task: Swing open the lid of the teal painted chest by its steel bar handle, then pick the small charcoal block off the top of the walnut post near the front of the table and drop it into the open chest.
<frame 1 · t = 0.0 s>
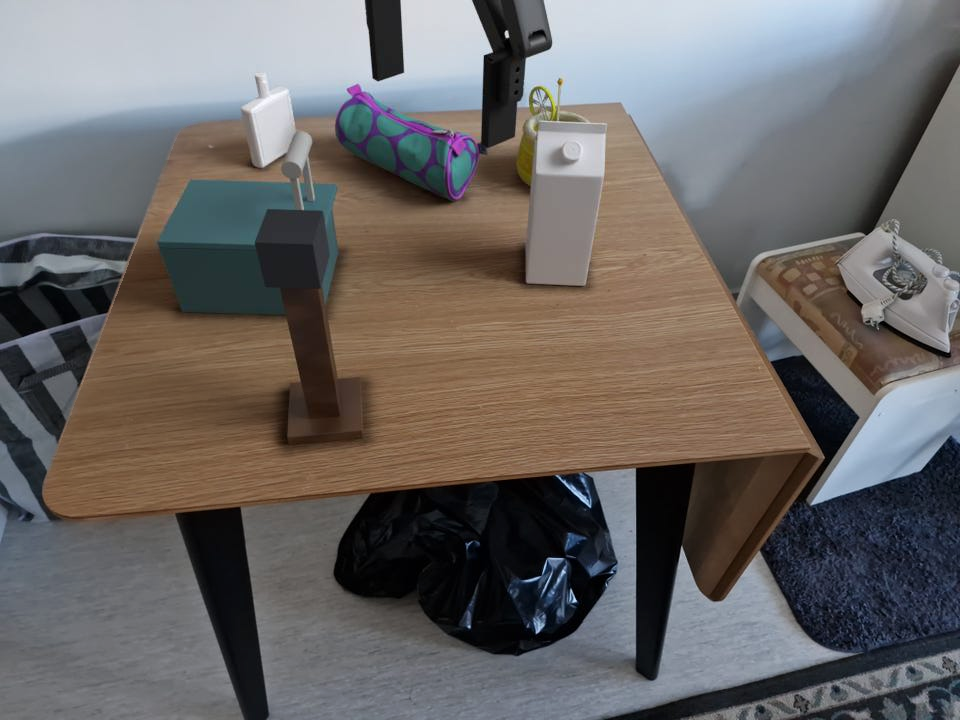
hand: (439, 106, 57), 28 cm above the table, tool pointing down, fingers open, 13 cm apart
chest: (264, 280, 85), on the table
milk carton: (554, 268, 89), on the table
perfume bottle: (276, 156, 105), on the table
block: (298, 270, 58), point 18 cm above the table, touching post stand
pencil case: (409, 174, 102), on the table
lid: (244, 182, 76), point 13 cm above the table, hinge at 0.0°
yellow pot: (553, 175, 103), on the table
post stand: (326, 413, 71), on the table
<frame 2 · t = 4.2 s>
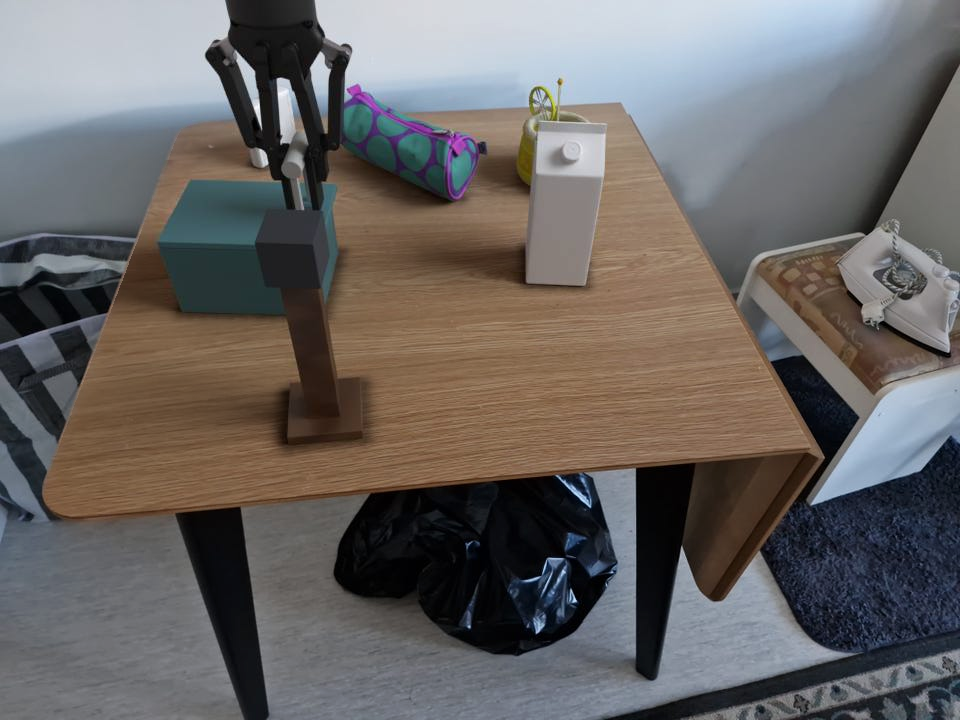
hand: (305, 204, 78), 11 cm above the table, tool pointing down, fingers closed on lid, 2 cm apart
lid: (244, 182, 76), point 13 cm above the table, hinge at 0.0°, touching gripper
everything else where it was.
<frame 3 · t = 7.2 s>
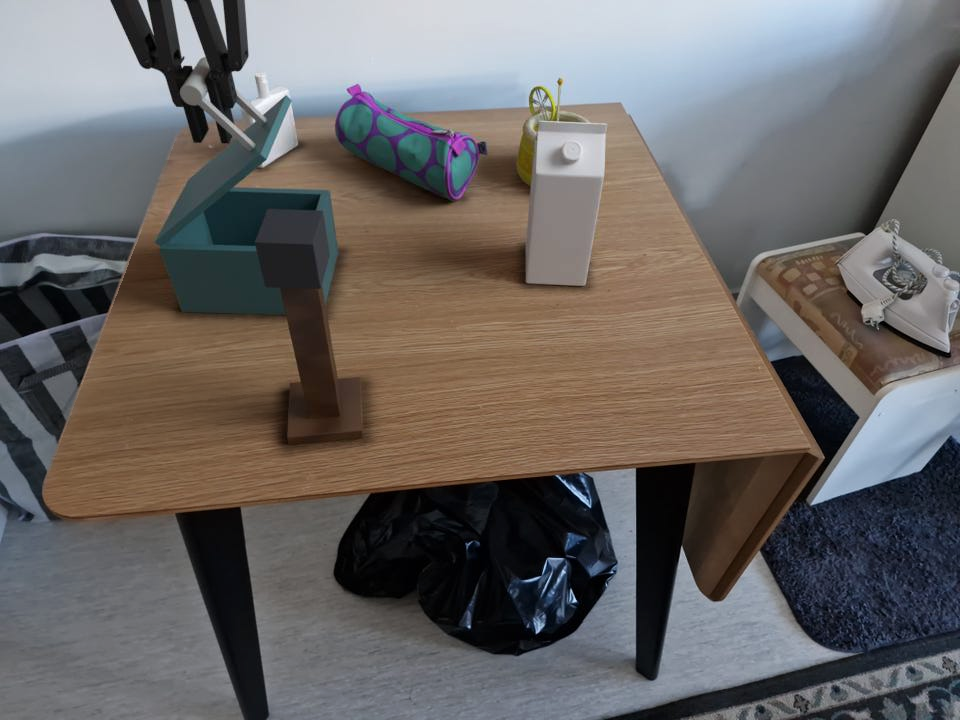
hand: (215, 135, 72), 19 cm above the table, tool pointing down, fingers closed on lid, 2 cm apart
lid: (191, 142, 73), point 18 cm above the table, hinge at 39.3°, touching gripper
everything else where it was.
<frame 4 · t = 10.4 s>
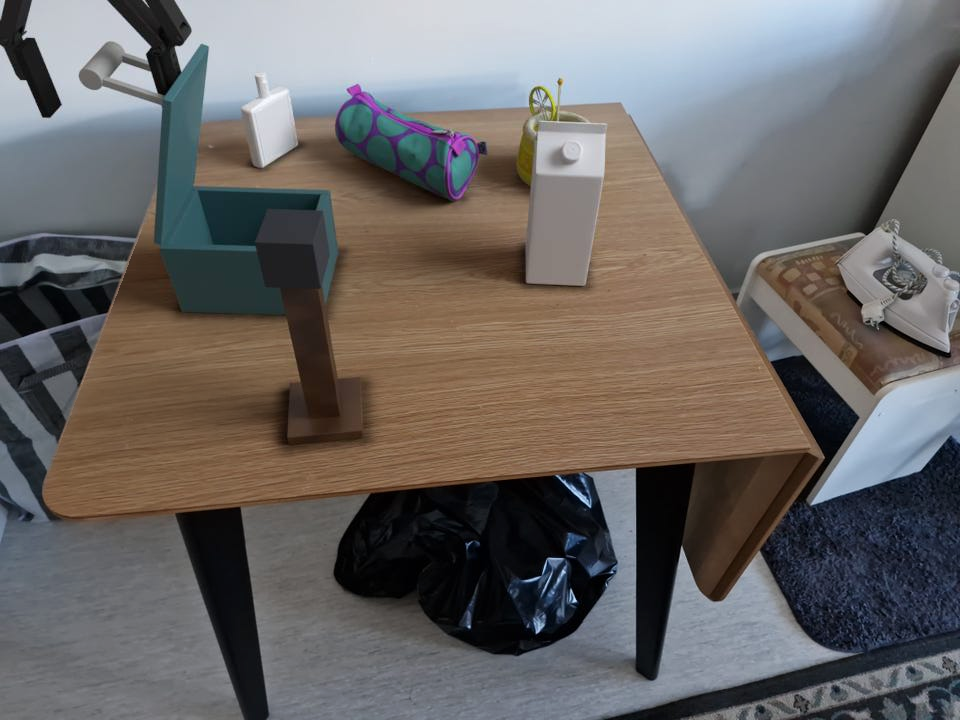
hand: (113, 113, 70), 21 cm above the table, tool pointing down, fingers open, 11 cm apart
lid: (139, 133, 72), point 19 cm above the table, hinge at 70.7°, touching gripper
everything else where it was.
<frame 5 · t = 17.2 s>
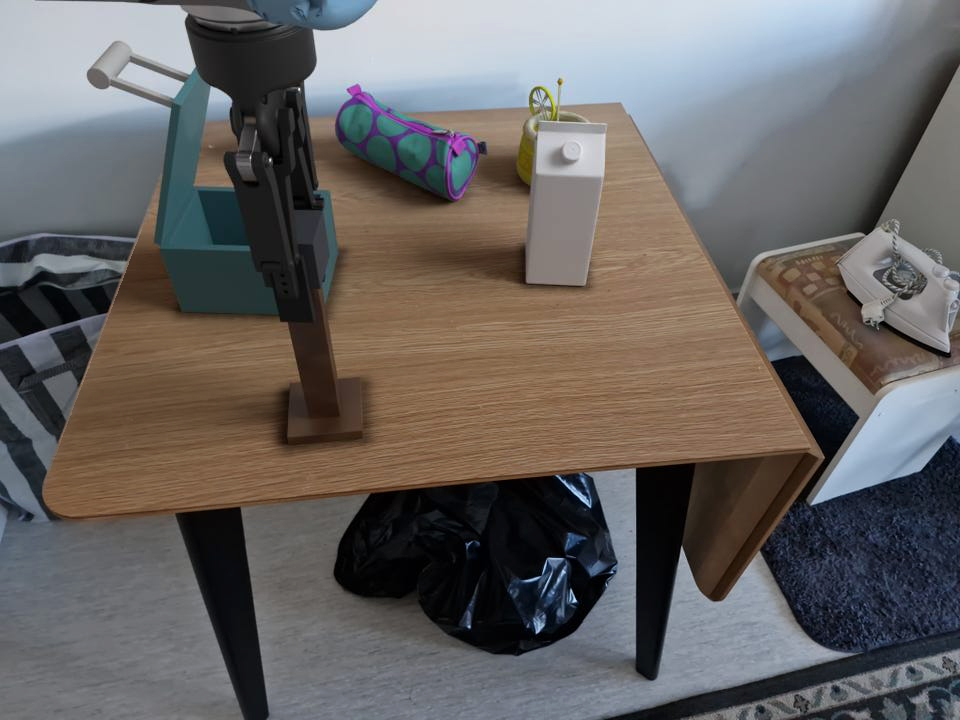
hand: (303, 298, 61), 15 cm above the table, tool pointing down, fingers closed on block, 4 cm apart
block: (298, 270, 58), point 18 cm above the table, touching gripper, post stand
lid: (143, 133, 72), point 19 cm above the table, hinge at 68.1°
everything else where it was.
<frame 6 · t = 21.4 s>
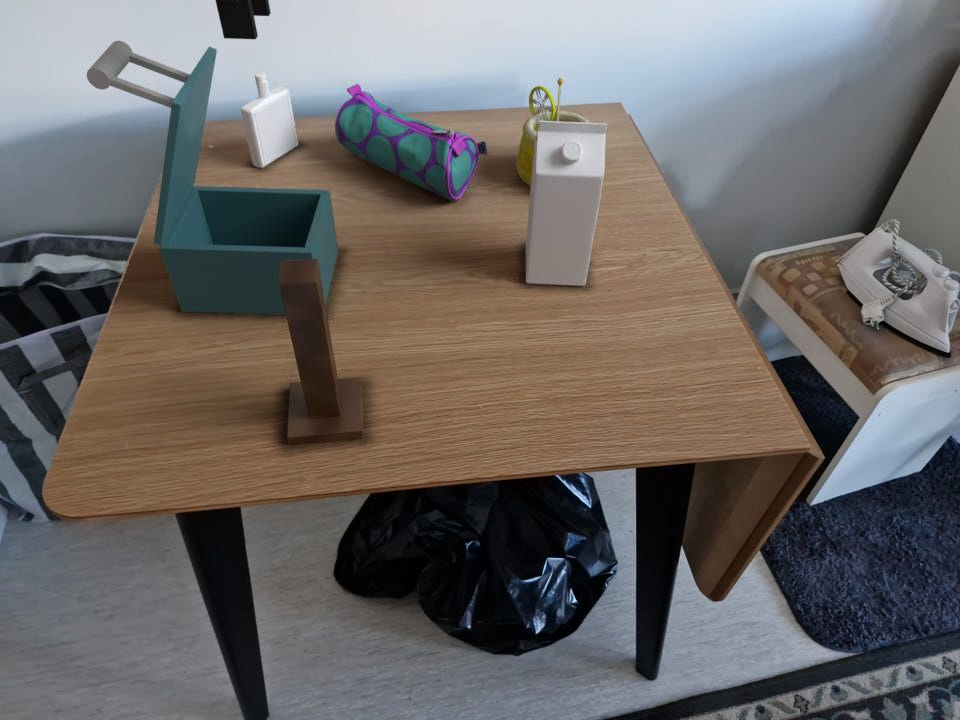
hand: (248, 24, 64), 30 cm above the table, tool pointing down, fingers closed on block, 4 cm apart
when the fingers open (10 cm above the table, at t = 25.6 s): block drops 12 cm, resting on chest.
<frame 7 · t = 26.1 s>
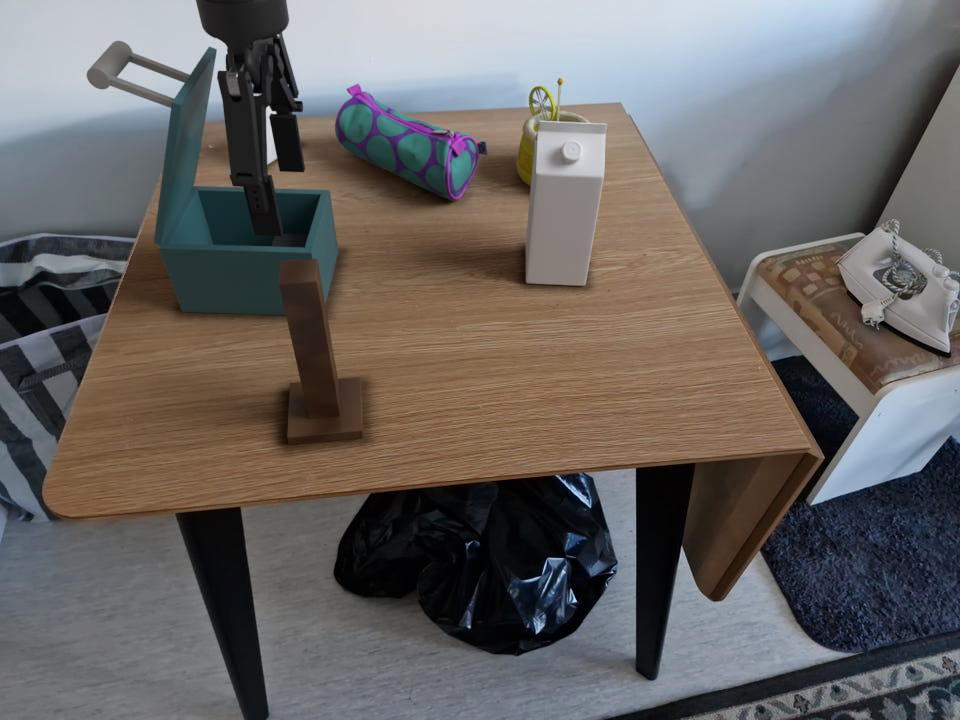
hand: (281, 200, 77), 11 cm above the table, tool pointing down, fingers open, 11 cm apart
block: (297, 275, 85), point 1 cm above the table, touching chest
everything else where it was.
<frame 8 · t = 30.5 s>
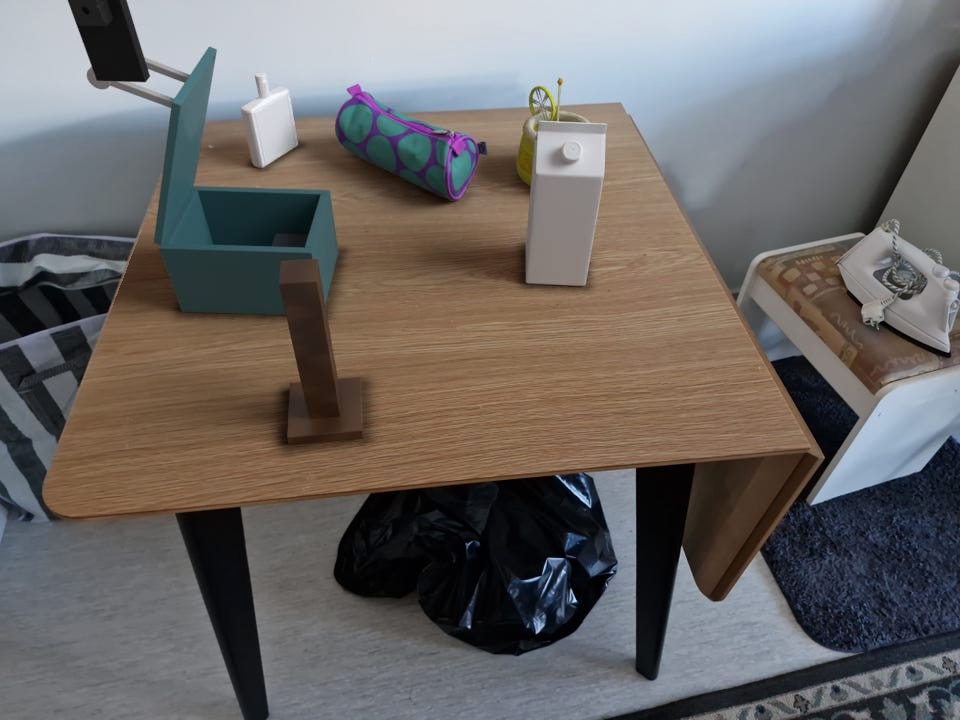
hand: (162, 30, 45), 37 cm above the table, tool pointing down, fingers open, 13 cm apart
nothing on the table moved.
at the end: lid at +68° (first picture: +0°); block inside the target area in the chest (4.0 cm from its centre), point 0.9 cm above the chest's base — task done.
